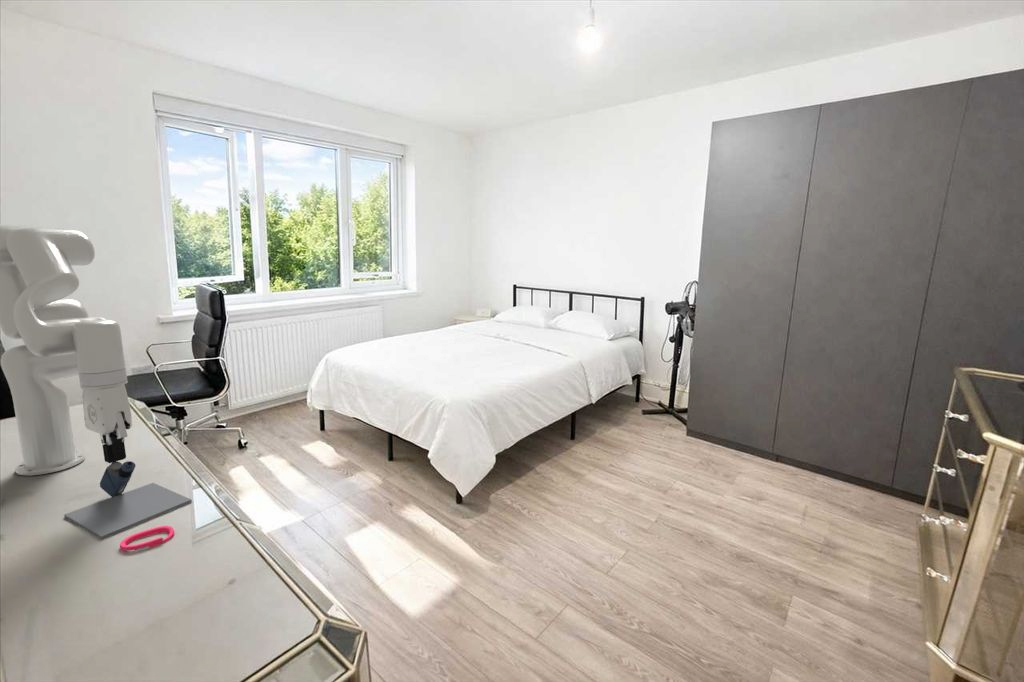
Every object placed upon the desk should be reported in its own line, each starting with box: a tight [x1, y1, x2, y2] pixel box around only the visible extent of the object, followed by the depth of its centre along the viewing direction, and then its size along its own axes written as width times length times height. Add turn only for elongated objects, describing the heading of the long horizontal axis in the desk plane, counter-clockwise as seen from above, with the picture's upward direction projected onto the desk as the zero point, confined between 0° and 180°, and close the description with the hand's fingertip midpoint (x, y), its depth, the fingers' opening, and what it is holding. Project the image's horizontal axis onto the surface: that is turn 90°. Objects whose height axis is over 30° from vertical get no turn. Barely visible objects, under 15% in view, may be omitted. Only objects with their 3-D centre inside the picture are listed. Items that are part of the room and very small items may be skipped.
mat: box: [63, 482, 193, 540], centre depth 98 cm, size 16×16×1 cm
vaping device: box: [99, 460, 136, 498], centre depth 101 cm, size 3×5×12 cm
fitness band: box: [119, 525, 175, 553], centre depth 88 cm, size 8×6×2 cm
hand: (115, 460), depth 101 cm, fingers closed
